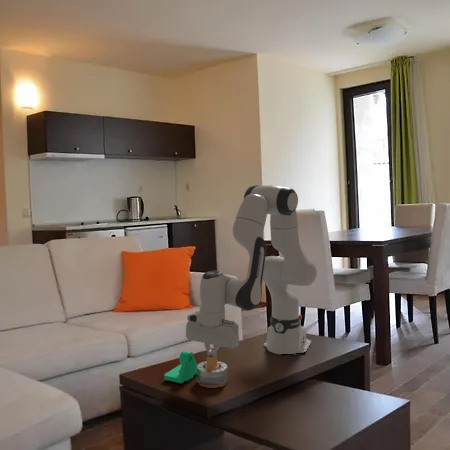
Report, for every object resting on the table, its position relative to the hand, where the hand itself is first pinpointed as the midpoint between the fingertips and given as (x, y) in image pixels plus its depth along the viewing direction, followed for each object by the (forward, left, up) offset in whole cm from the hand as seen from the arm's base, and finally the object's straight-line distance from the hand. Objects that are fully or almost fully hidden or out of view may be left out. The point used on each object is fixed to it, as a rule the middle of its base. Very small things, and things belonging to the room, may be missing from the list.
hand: (211, 355), depth 192 cm
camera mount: (+2, -12, -10) cm, 16 cm away
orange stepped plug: (0, 0, -6) cm, 6 cm away
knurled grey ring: (0, 0, -10) cm, 10 cm away
